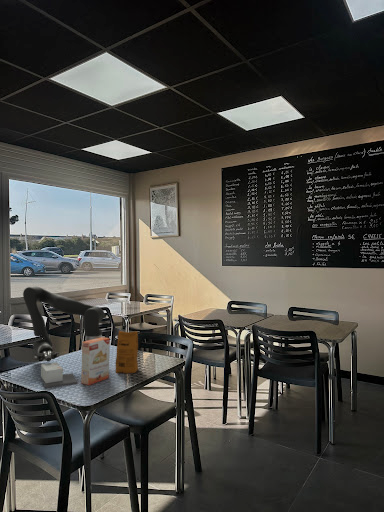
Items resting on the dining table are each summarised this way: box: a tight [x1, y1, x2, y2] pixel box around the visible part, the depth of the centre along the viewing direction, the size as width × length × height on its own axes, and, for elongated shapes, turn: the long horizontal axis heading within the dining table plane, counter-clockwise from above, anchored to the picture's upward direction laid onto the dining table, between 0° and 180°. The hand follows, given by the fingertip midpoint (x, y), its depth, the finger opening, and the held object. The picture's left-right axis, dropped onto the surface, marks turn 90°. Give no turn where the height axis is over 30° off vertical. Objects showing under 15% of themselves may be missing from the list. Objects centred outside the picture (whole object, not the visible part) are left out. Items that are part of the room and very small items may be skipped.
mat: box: [41, 372, 78, 389], centre depth 184 cm, size 15×14×1 cm
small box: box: [40, 362, 64, 383], centre depth 184 cm, size 8×6×13 cm
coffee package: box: [115, 330, 139, 374], centre depth 201 cm, size 10×12×22 cm
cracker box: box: [80, 336, 111, 386], centre depth 185 cm, size 14×6×21 cm, turn 148°
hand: (48, 359), depth 188 cm, fingers closed
